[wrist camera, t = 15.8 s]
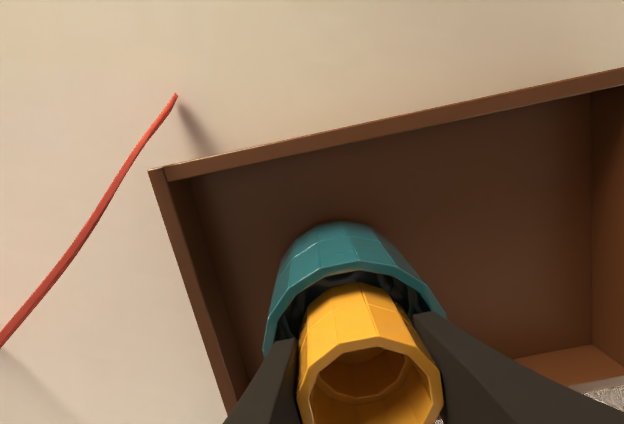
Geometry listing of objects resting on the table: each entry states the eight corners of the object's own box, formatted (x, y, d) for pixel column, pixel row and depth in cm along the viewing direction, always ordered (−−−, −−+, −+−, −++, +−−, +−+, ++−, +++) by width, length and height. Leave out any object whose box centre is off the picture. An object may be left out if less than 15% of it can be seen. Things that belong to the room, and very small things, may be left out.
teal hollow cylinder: (408, 319, 15) (458, 407, 10) (293, 341, 15) (286, 439, 10) (390, 206, 13) (438, 244, 9) (265, 232, 14) (243, 283, 9)
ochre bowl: (409, 358, 11) (450, 445, 8) (312, 377, 11) (314, 470, 8) (395, 268, 10) (433, 325, 7) (291, 288, 10) (283, 353, 7)
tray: (594, 74, 13) (661, 58, 10) (594, 344, 16) (647, 382, 13) (175, 164, 13) (146, 170, 11) (250, 409, 16) (240, 456, 14)
